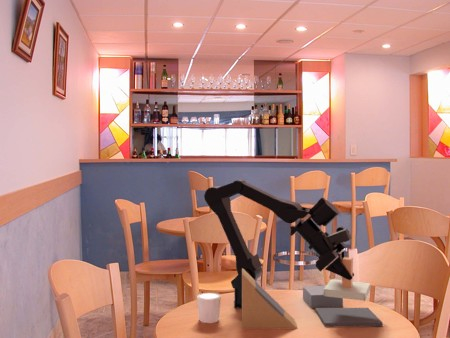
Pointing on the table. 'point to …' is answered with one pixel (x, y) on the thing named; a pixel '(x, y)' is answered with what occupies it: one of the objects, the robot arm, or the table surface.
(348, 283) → the lid
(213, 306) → the white cup
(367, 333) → the table surface
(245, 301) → the sandwich container
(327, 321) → the mat
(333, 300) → the grey square block
